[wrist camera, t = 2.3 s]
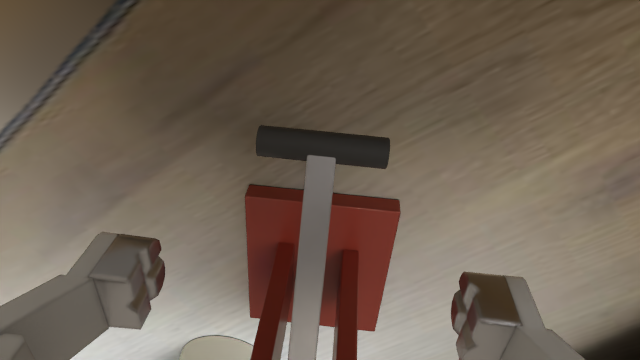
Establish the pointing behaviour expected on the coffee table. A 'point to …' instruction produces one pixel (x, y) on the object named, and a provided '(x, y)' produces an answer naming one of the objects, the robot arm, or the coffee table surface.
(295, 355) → the lever
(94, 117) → the coffee table surface
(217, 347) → the water bottle
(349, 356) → the bracket
